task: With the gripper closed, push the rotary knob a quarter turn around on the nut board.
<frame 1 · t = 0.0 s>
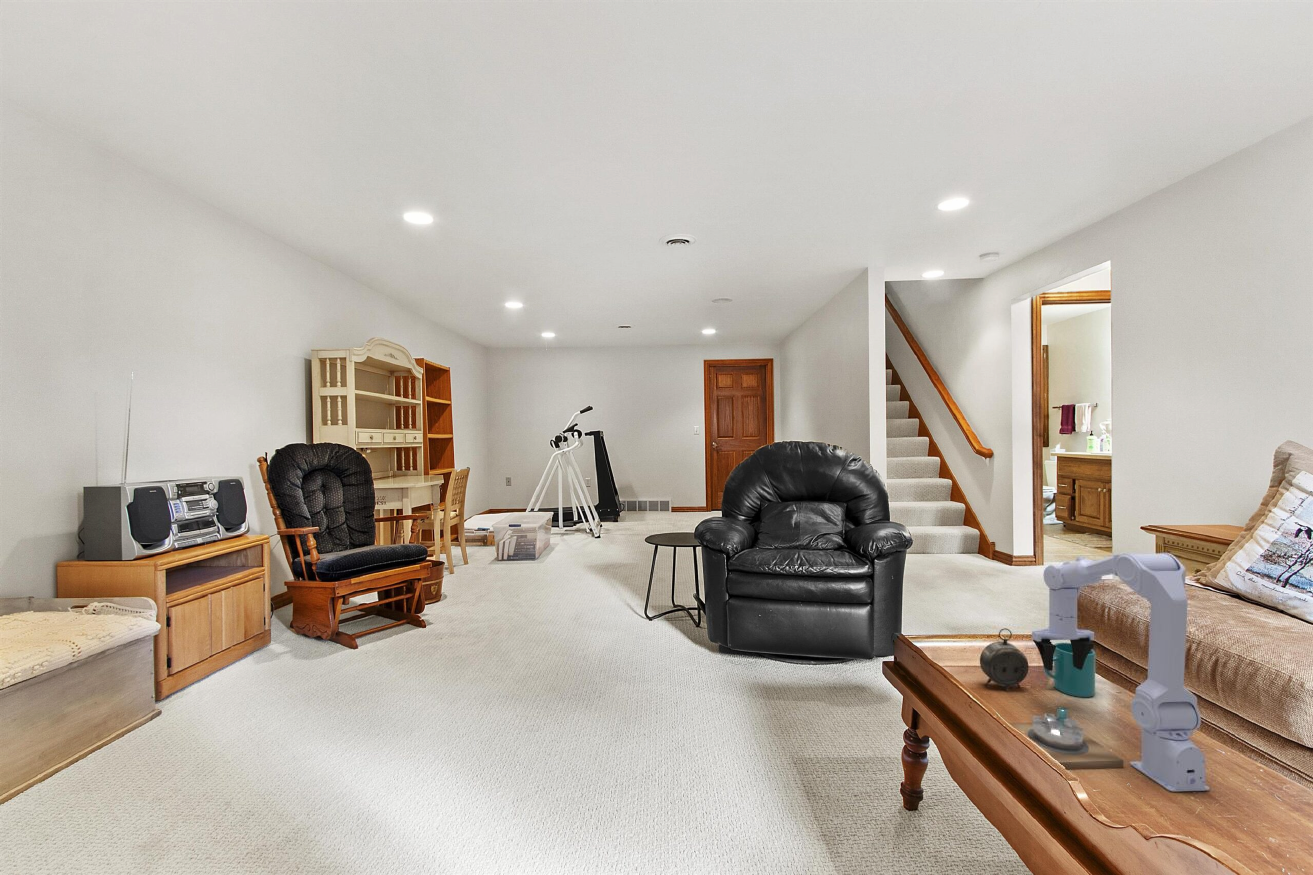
hand: (1062, 668, 146), 10 cm above the table, tool pointing down, fingers open, 7 cm apart
rotary knob: (1058, 726, 129), point 4 cm above the table, hinge at 0.0°
cup: (1068, 691, 156), on the table
nut board: (1057, 747, 128), on the table
alarm clock: (1004, 689, 157), on the table
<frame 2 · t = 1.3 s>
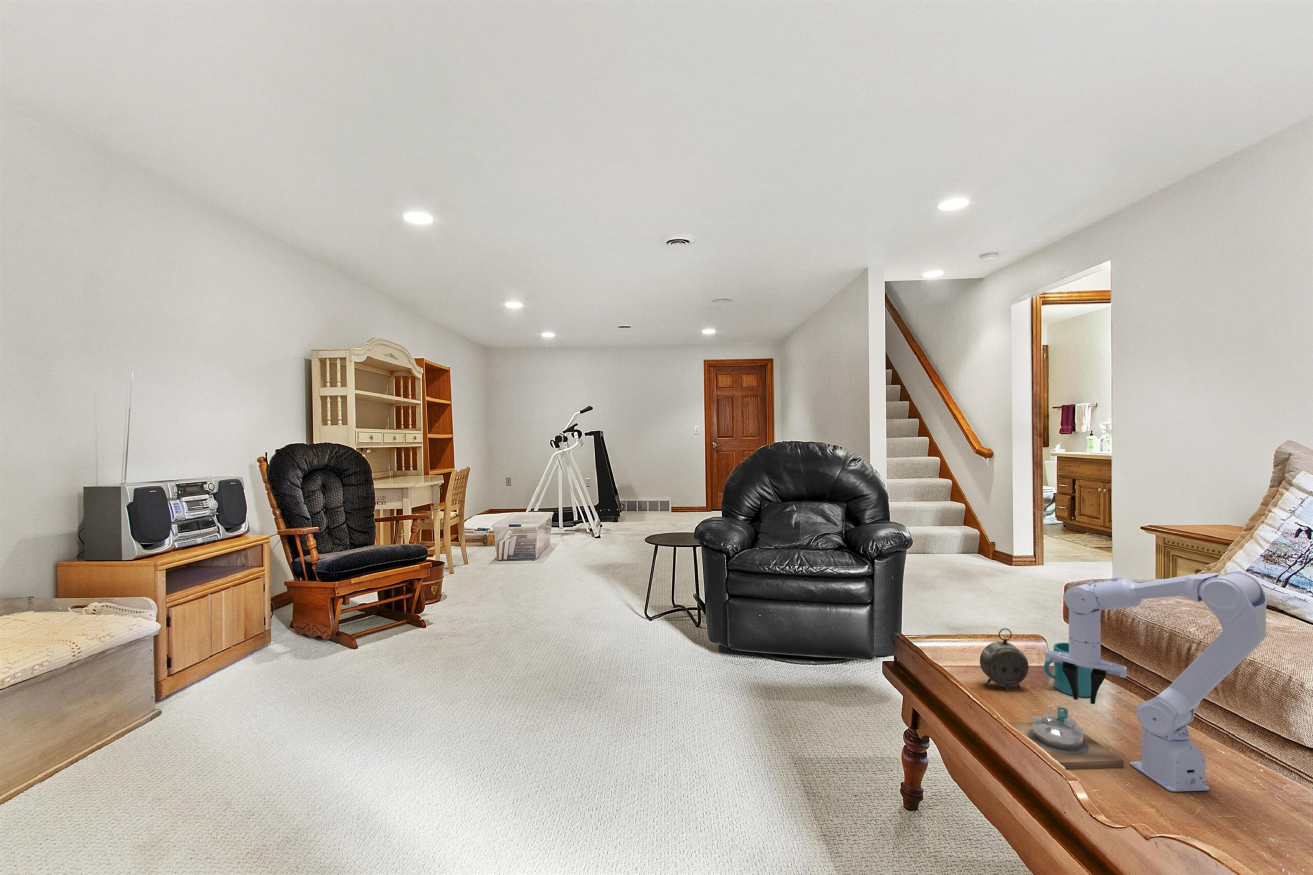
hand: (1084, 700, 130), 9 cm above the table, tool pointing down, fingers closed
nothing on the table moved.
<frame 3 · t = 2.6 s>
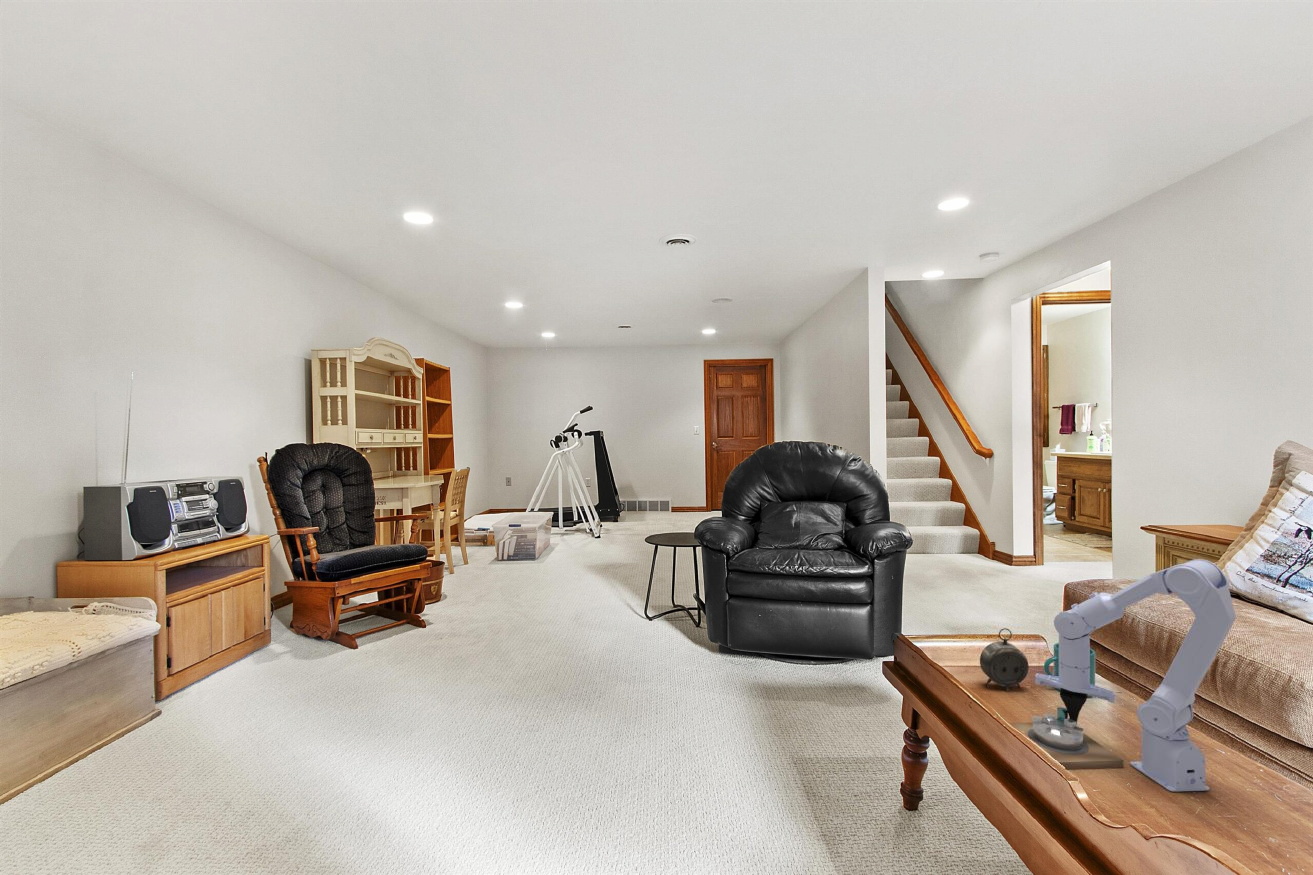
hand: (1073, 724, 132), 3 cm above the table, tool pointing down, fingers closed
rotary knob: (1058, 726, 129), point 4 cm above the table, hinge at 0.1°, touching gripper
everything else where it was.
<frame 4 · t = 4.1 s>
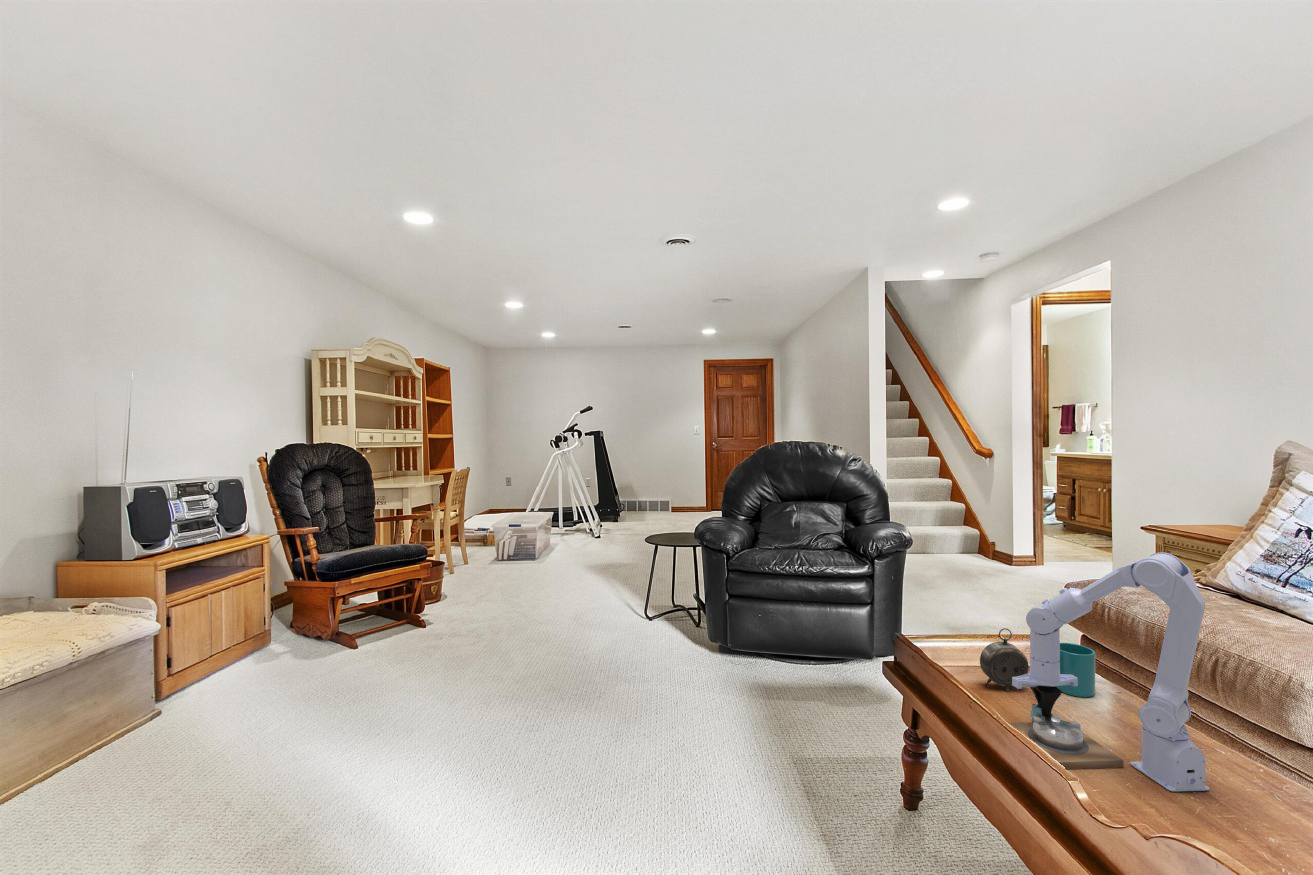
hand: (1044, 717, 135), 3 cm above the table, tool pointing down, fingers closed
rotary knob: (1052, 725, 130), point 4 cm above the table, hinge at 45.0°, touching gripper
everything else where it was.
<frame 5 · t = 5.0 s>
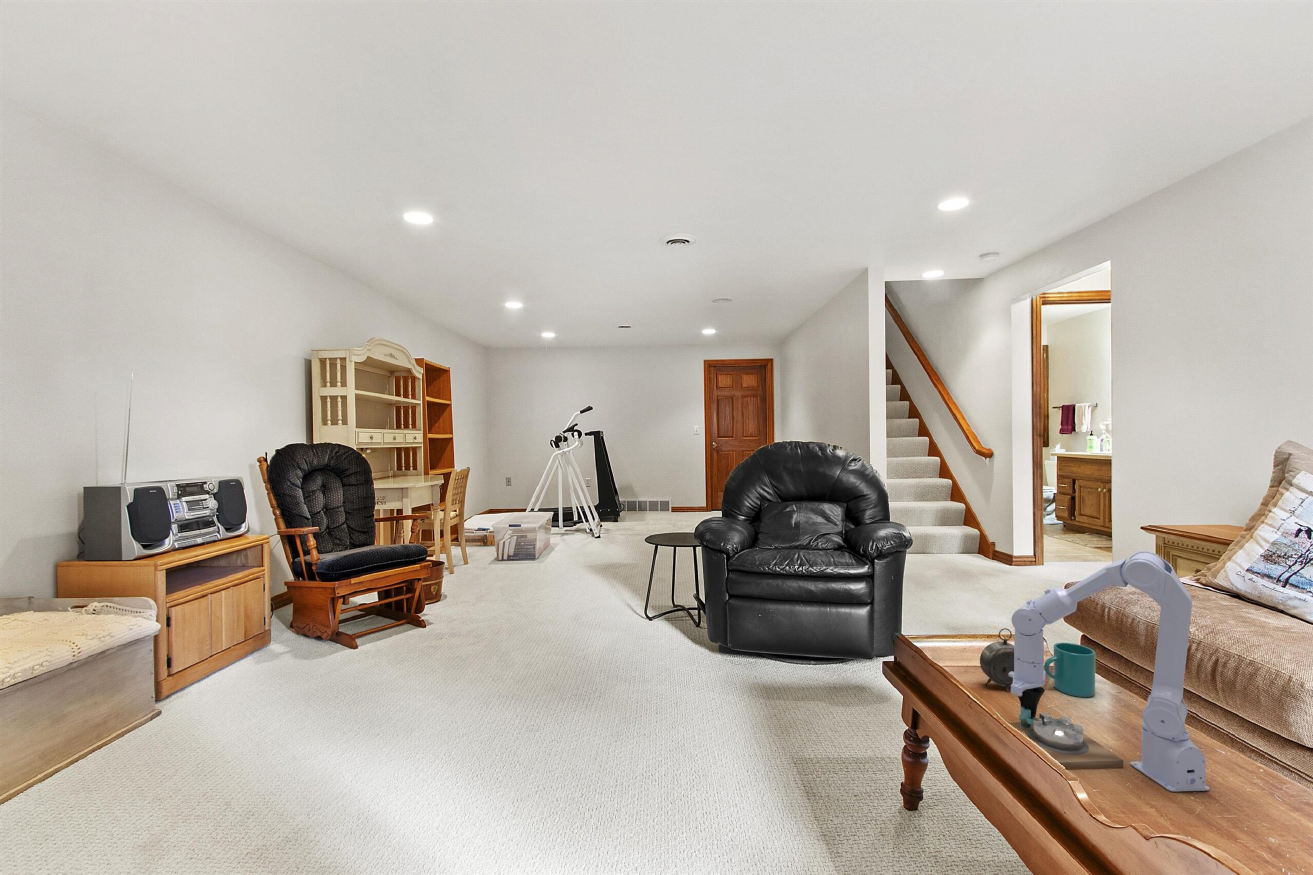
hand: (1028, 717, 135), 3 cm above the table, tool pointing down, fingers closed
rotary knob: (1049, 726, 129), point 4 cm above the table, hinge at 76.2°, touching gripper
everything else where it was.
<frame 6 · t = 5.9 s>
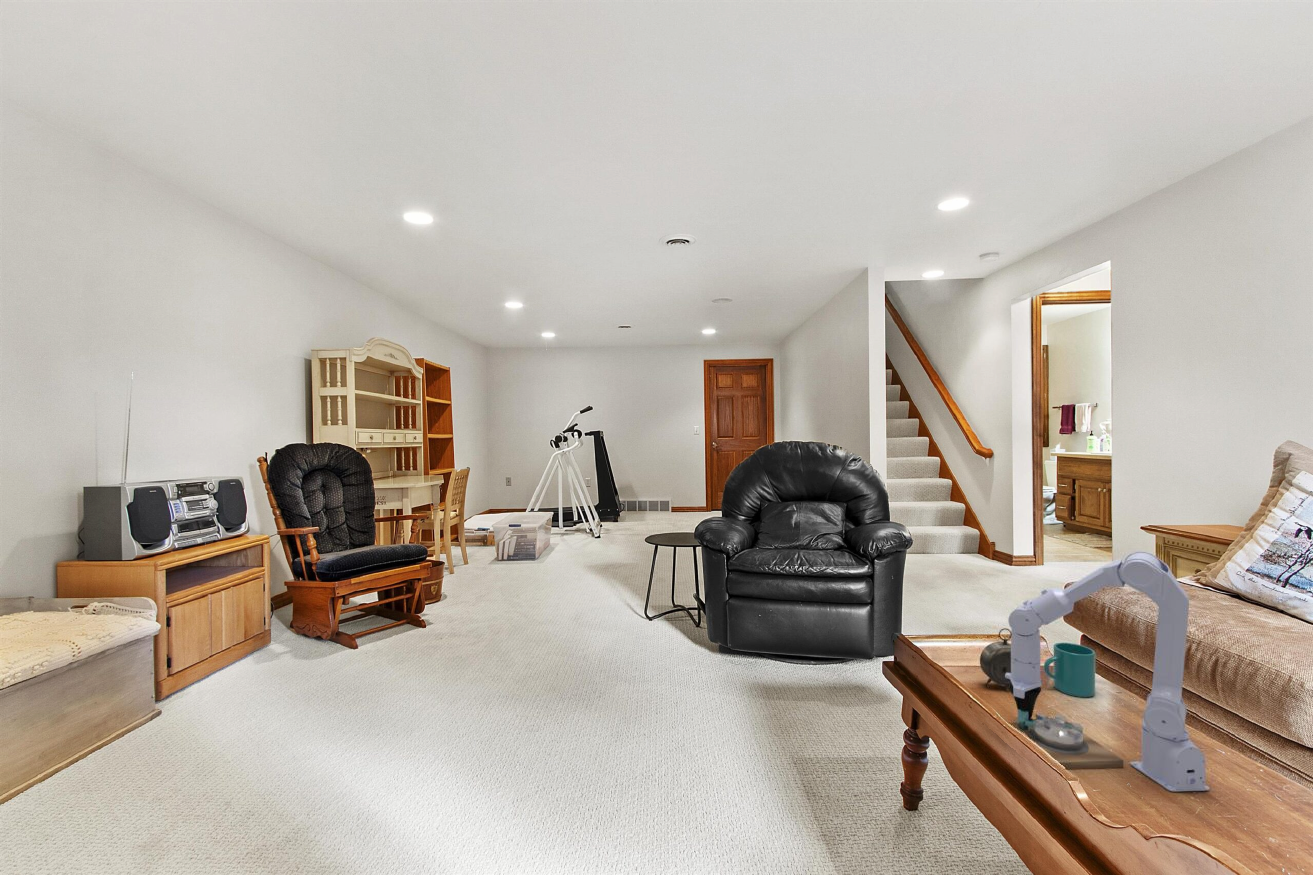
hand: (1025, 718, 134), 3 cm above the table, tool pointing down, fingers closed
rotary knob: (1049, 726, 129), point 4 cm above the table, hinge at 90.4°
everything else where it was.
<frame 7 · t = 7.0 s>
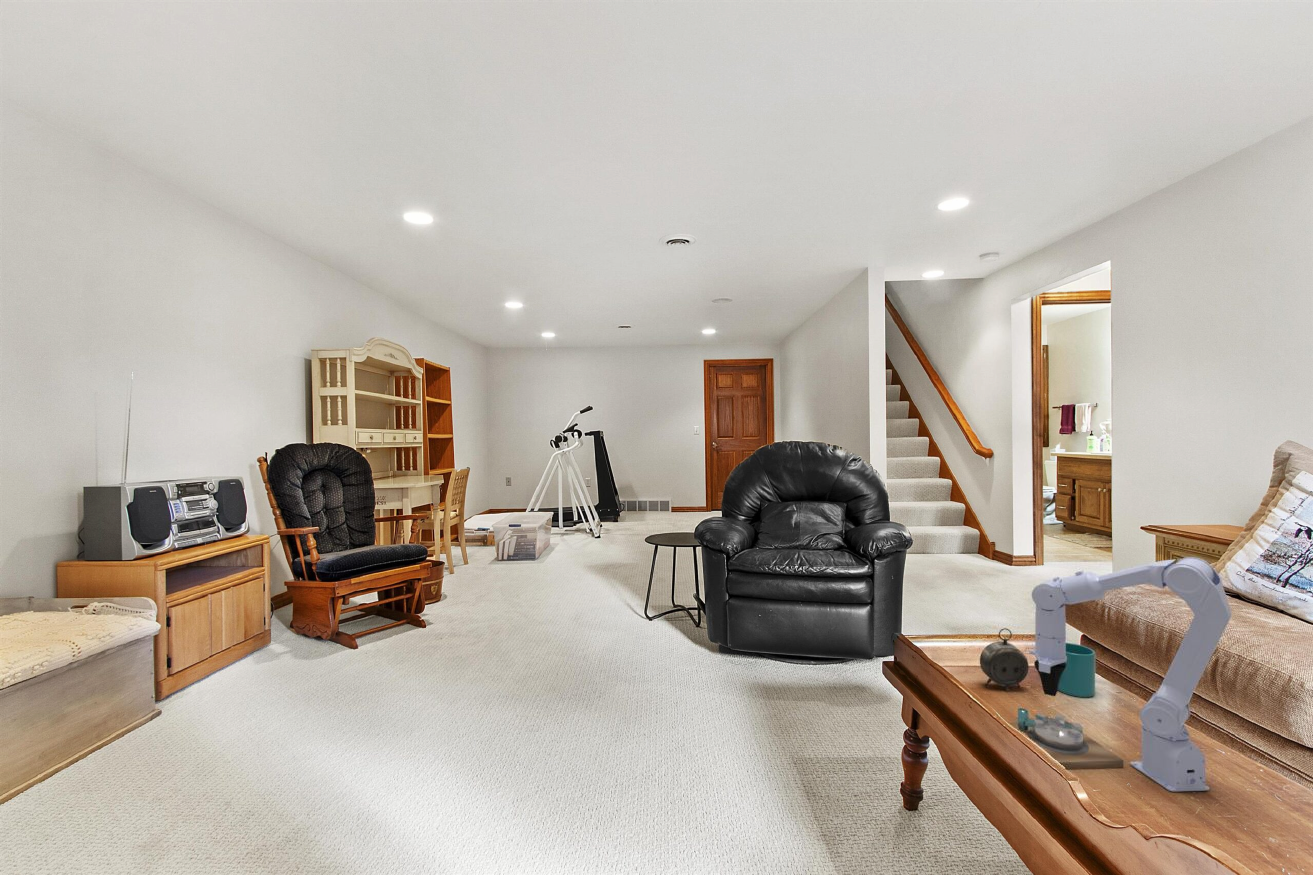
hand: (1050, 694, 133), 9 cm above the table, tool pointing down, fingers closed
nothing on the table moved.
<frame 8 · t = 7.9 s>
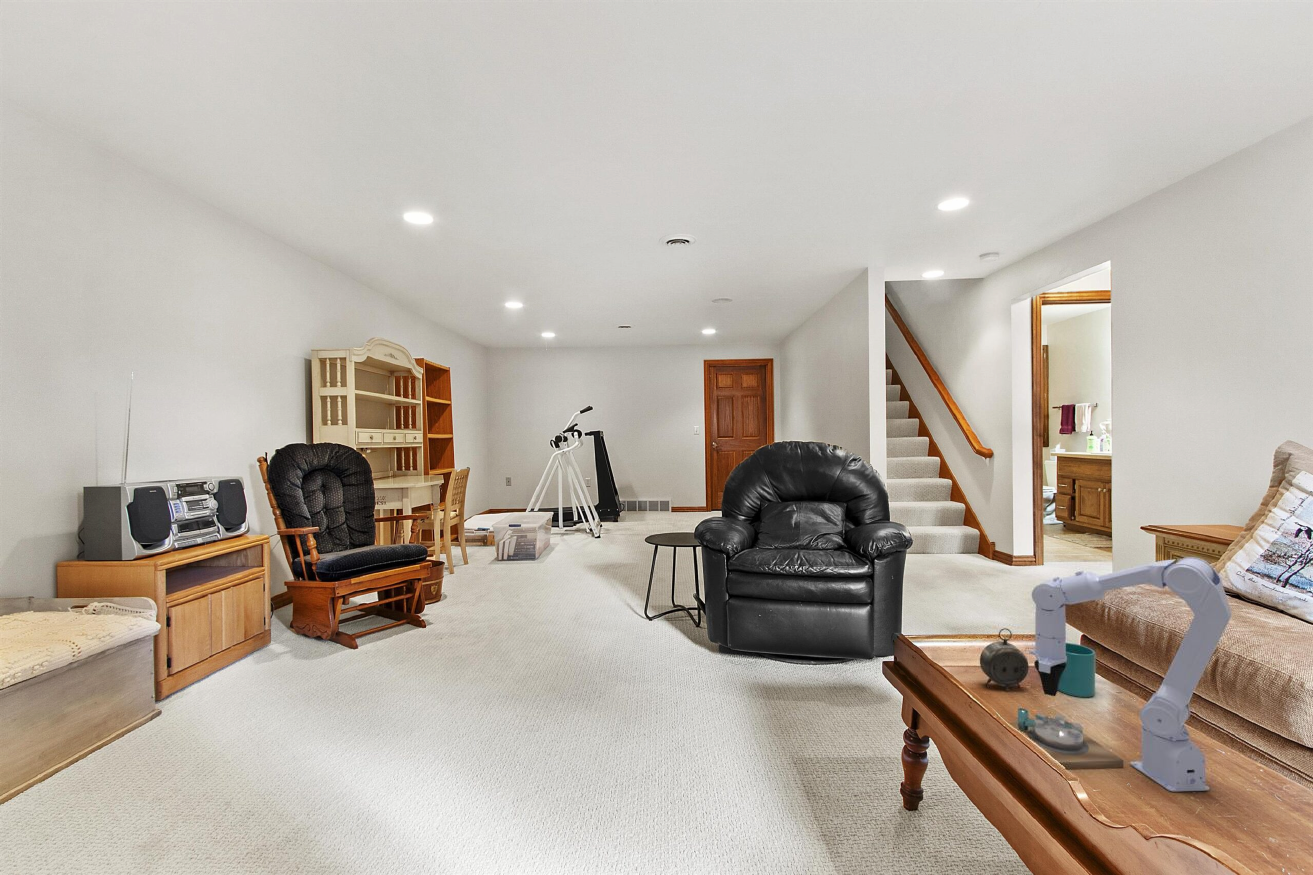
hand: (1050, 694, 133), 9 cm above the table, tool pointing down, fingers closed
nothing on the table moved.
at the end: rotary knob at +90° (first picture: +0°); alarm clock moved 0.2 cm from its start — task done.
